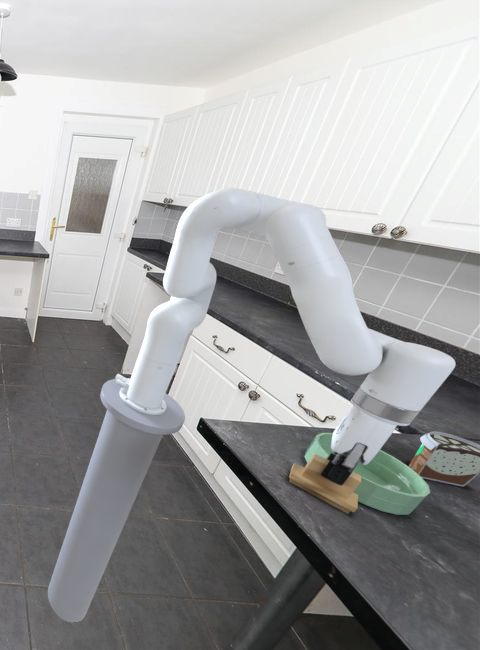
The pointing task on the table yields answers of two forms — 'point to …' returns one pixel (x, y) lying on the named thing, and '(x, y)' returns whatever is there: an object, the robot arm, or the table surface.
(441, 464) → the food container
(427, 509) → the table surface
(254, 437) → the table surface
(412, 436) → the table surface
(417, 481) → the bowl
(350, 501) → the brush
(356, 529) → the table surface
